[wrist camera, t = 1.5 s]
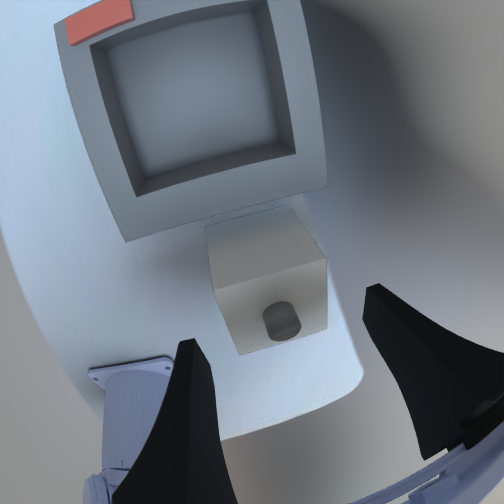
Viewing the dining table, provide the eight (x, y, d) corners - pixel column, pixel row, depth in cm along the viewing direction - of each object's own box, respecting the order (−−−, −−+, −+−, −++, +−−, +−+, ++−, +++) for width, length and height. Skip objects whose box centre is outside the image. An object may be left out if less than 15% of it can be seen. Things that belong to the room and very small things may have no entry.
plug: (296, 269, 17) (334, 343, 12) (225, 289, 17) (243, 372, 12) (287, 204, 15) (337, 273, 10) (204, 226, 15) (215, 308, 10)
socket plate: (307, 169, 14) (333, 191, 11) (134, 216, 13) (123, 248, 11) (272, -19, 8) (294, -42, 5) (76, 32, 7) (48, 22, 5)
